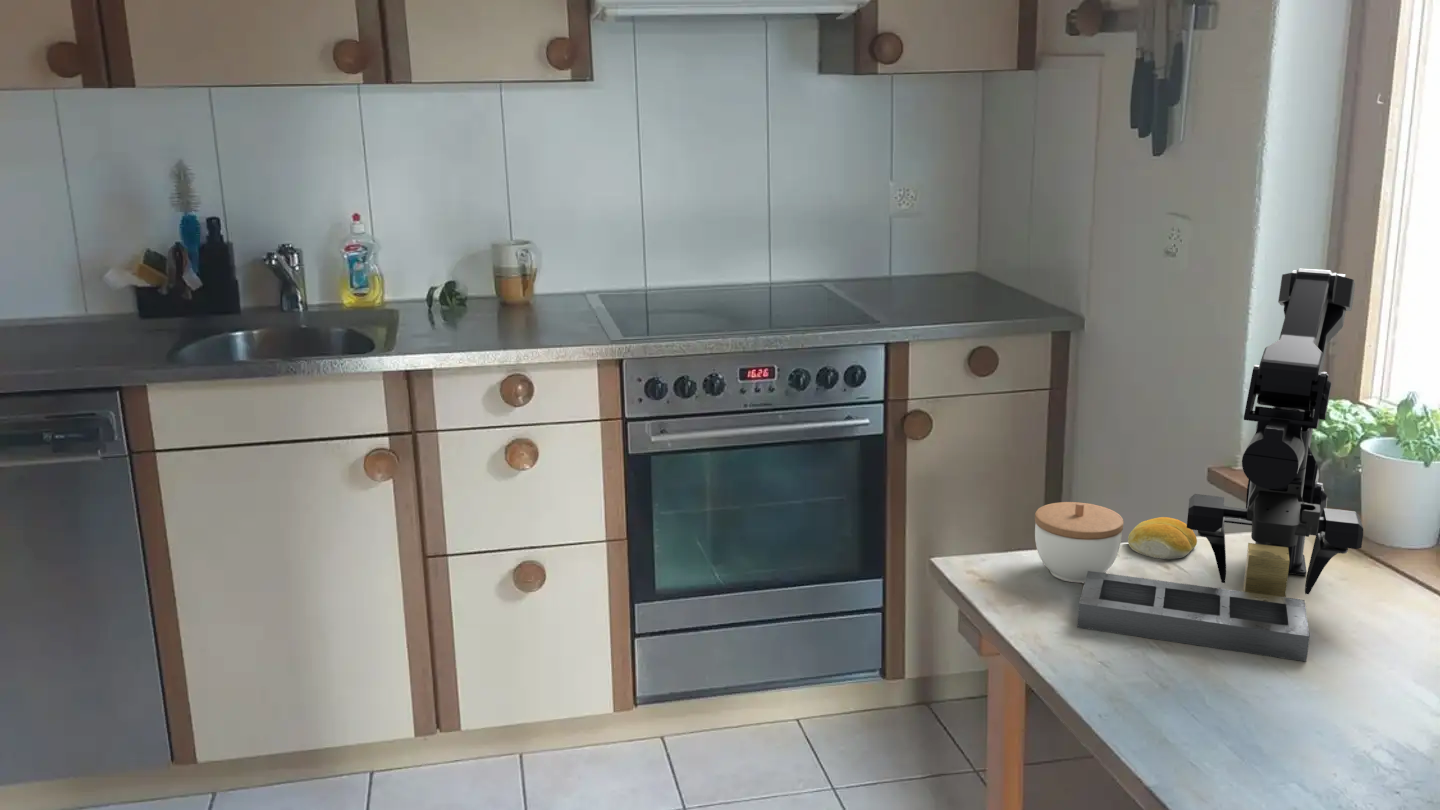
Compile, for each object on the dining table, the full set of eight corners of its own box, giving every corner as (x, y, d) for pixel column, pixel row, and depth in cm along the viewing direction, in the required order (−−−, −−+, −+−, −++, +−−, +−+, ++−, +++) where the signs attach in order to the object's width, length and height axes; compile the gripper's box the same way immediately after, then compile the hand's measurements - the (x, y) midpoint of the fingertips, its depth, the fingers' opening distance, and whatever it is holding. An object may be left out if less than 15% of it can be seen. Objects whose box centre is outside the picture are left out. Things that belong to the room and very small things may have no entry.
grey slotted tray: (1086, 593, 151) (1087, 570, 150) (1301, 623, 143) (1304, 599, 142) (1077, 627, 142) (1078, 603, 142) (1306, 661, 134) (1309, 636, 133)
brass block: (1242, 592, 151) (1248, 542, 150) (1282, 597, 150) (1288, 547, 148) (1243, 606, 147) (1248, 555, 146) (1283, 612, 146) (1289, 560, 144)
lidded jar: (1101, 555, 163) (1106, 488, 160) (1132, 589, 153) (1138, 517, 150) (1020, 558, 162) (1025, 490, 160) (1046, 592, 152) (1051, 520, 149)
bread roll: (1201, 544, 167) (1204, 516, 166) (1182, 565, 160) (1185, 536, 159) (1140, 531, 172) (1142, 504, 171) (1119, 551, 165) (1121, 523, 164)
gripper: (1191, 475, 140) (1179, 602, 144) (1376, 494, 133) (1357, 627, 138) (1194, 447, 150) (1182, 567, 154) (1365, 464, 143) (1348, 588, 148)
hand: (1264, 587), depth 148 cm, fingers open, 9 cm apart
